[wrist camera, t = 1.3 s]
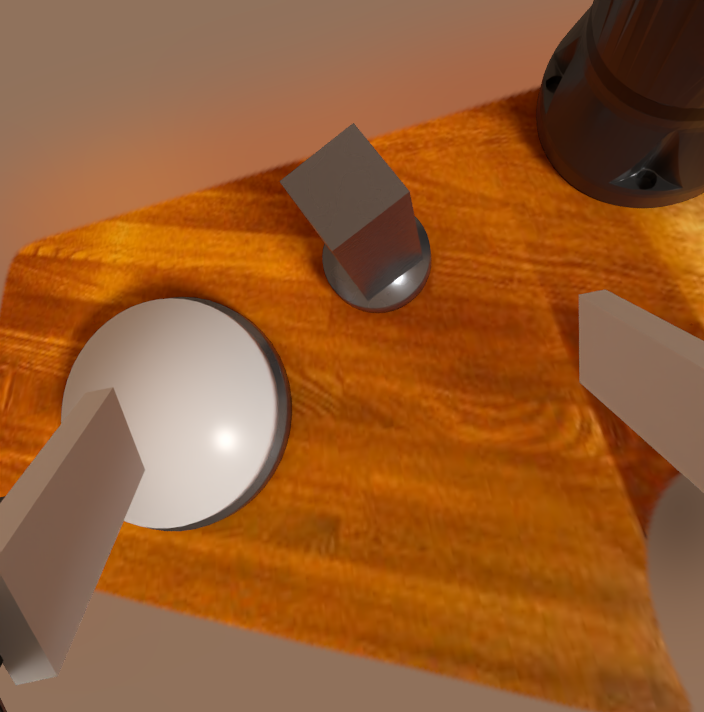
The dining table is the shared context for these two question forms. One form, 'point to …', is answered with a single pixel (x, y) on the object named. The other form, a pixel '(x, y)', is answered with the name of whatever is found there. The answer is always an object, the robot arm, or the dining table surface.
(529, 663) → the dining table surface
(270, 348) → the base
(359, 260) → the square post on disc
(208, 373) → the turntable platter
